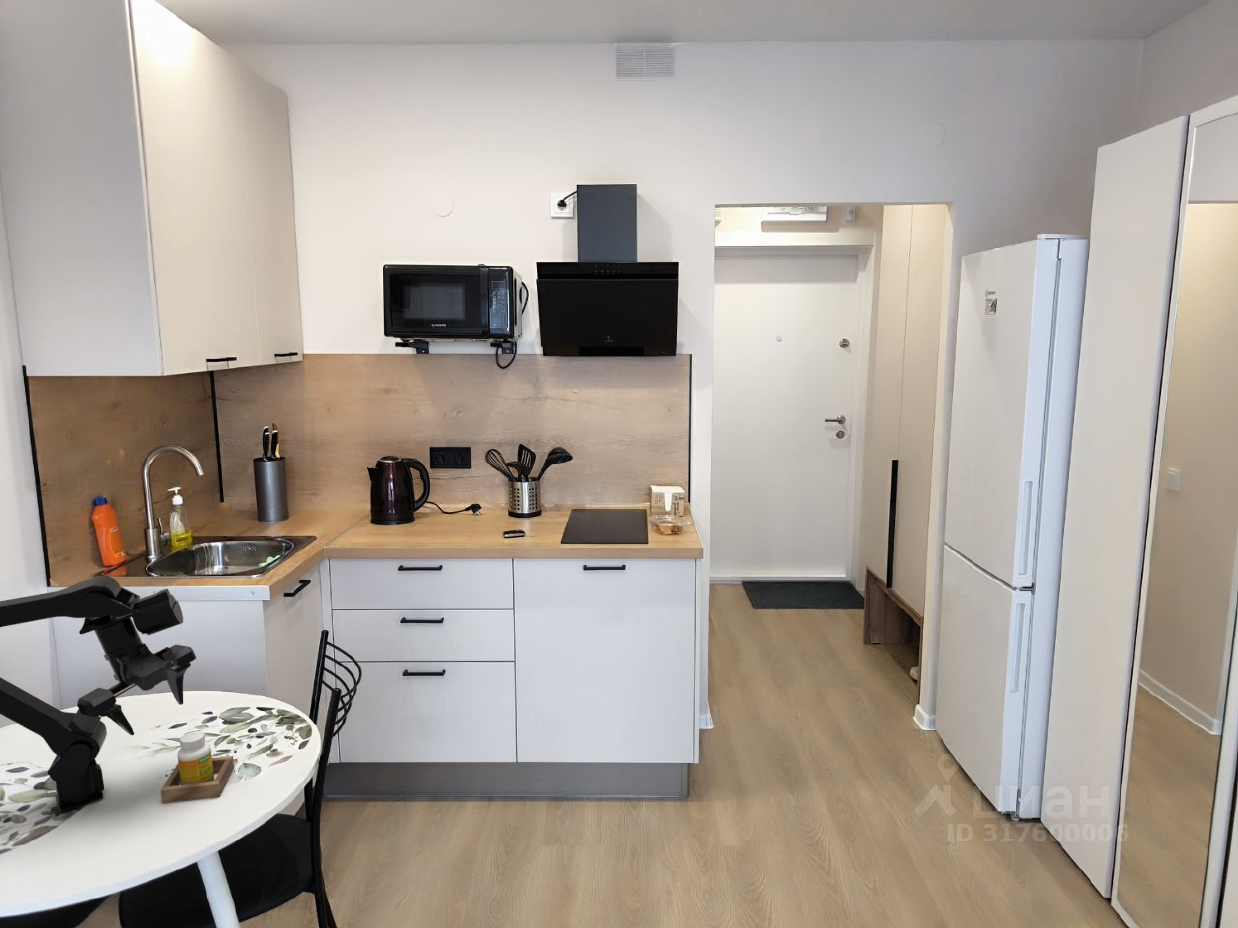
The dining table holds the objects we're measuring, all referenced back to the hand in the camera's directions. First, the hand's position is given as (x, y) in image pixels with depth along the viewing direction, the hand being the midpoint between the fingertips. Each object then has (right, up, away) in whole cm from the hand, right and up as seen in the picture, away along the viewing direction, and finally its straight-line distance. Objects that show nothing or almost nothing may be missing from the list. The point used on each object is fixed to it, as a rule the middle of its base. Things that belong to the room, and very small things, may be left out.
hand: (157, 718), depth 147 cm
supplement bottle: (+7, -13, +1) cm, 14 cm away
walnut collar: (+7, -12, +1) cm, 14 cm away
